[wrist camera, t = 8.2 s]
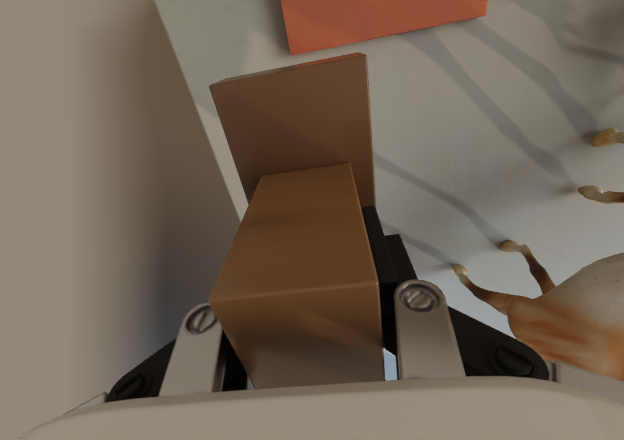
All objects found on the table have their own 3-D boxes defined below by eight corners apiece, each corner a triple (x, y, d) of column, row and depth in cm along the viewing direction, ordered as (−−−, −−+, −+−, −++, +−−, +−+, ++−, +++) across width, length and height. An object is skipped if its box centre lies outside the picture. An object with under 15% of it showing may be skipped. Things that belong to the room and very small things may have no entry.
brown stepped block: (373, 274, 19) (415, 464, 10) (294, 283, 19) (274, 468, 11) (355, 50, 12) (438, 77, 4) (234, 74, 13) (60, 146, 4)
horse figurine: (459, 299, 41) (557, 487, 24) (419, 278, 39) (494, 465, 22) (710, 109, 27) (1428, 236, 9) (666, 60, 25) (1473, 106, 7)
